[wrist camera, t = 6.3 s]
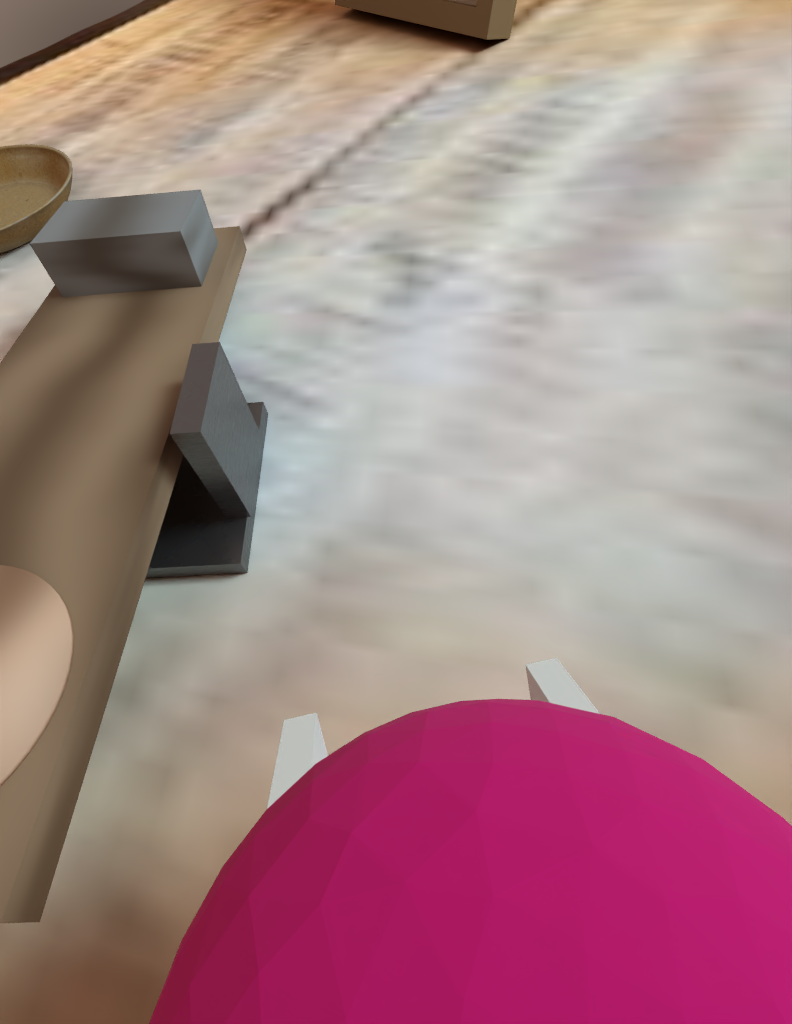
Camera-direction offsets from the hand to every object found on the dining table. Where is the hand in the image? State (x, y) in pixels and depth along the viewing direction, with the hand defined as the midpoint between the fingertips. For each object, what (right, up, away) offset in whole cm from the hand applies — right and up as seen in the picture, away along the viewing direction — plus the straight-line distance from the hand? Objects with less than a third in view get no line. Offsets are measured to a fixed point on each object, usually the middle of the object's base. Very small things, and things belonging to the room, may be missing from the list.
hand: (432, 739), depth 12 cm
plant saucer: (-34, +29, +32) cm, 55 cm away
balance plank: (-15, +9, +11) cm, 21 cm away
